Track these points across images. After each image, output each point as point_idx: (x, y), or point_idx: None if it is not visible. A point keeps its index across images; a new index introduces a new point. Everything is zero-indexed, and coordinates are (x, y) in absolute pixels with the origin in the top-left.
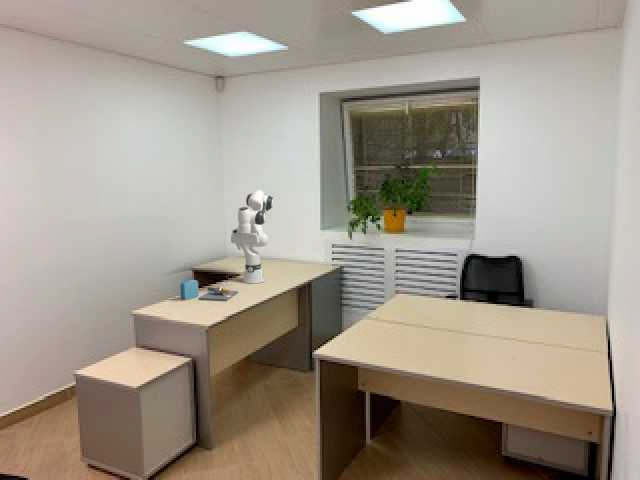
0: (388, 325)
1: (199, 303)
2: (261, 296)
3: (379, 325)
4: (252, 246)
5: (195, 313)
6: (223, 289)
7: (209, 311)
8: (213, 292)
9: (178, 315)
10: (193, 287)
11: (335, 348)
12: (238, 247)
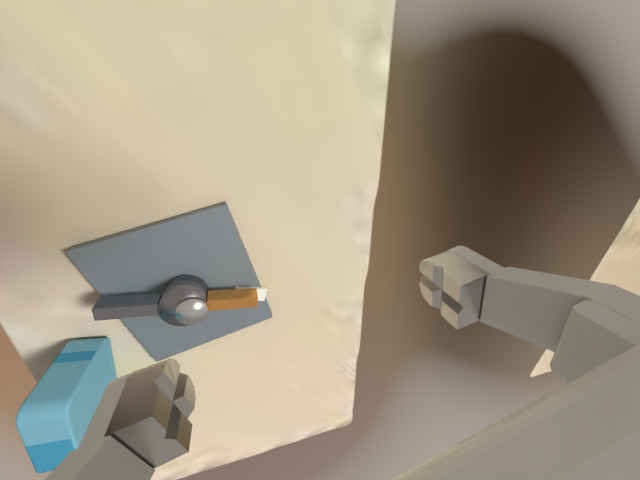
0: (631, 255)
1: (203, 371)
2: (355, 200)
3: (619, 262)
4: (530, 328)
5: (275, 412)
6: (217, 304)
7: (296, 387)
8: (130, 283)
9: (247, 439)
10: (89, 398)
11: (546, 360)
12: (160, 458)
